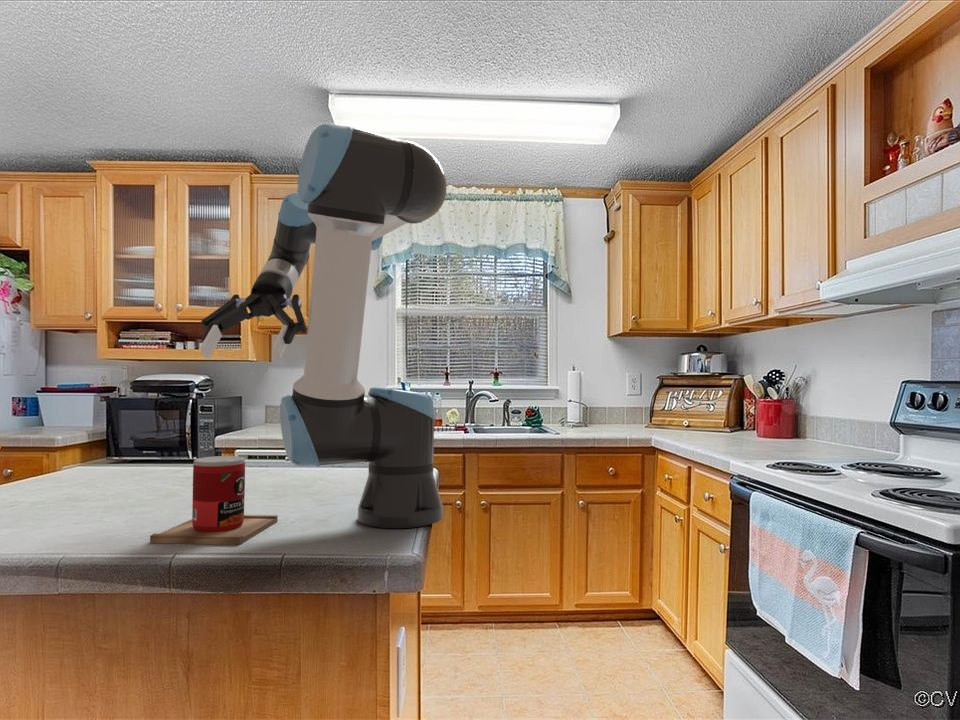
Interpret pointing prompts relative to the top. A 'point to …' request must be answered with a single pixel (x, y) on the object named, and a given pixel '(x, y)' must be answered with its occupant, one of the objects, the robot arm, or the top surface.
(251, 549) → the top surface
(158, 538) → the trivet
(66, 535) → the top surface
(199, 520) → the canned food
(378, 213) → the robot arm
